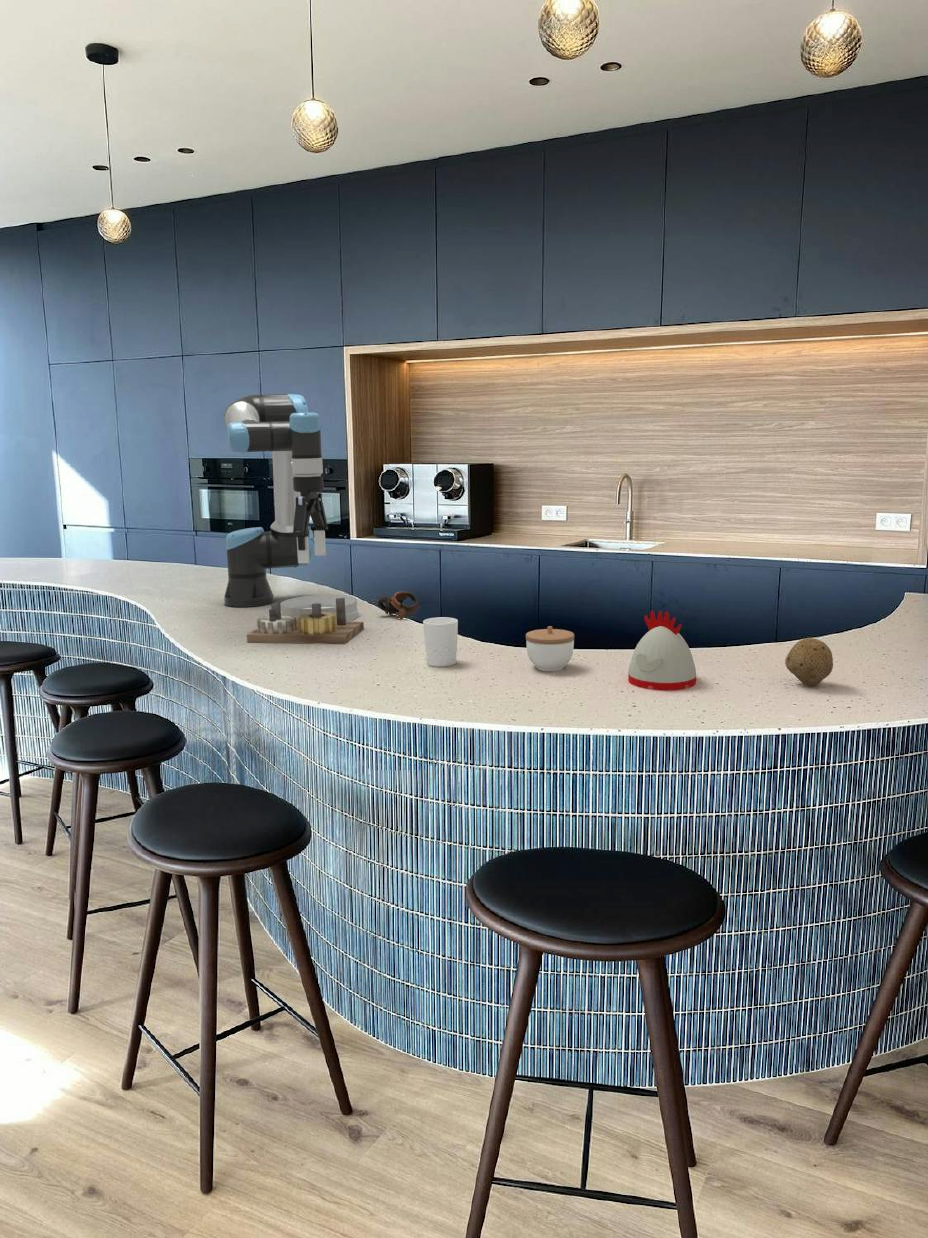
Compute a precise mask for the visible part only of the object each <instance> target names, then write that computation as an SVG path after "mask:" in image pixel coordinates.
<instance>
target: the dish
mask: <svg viewBox="0 0 928 1238" xmlns="http://www.w3.org/2000/svg"><path fill="white" fill-rule="evenodd" d="M336 598H345V614H346V621H351V620H352V621H354V620H356V619H357V618H358V617H359V609H358V601H357V600H358V599H356V597H352V596H347V595H339V594H318V595H305V596H304V595H303V596H298V597H292V598H289V599H285V600H284V601H282V602H280V606H281V615H285V616H290V615H291V616H293V617H296V621H297V617H298V615H302V614H304V613H311V612H312V604H315V603H320V604H321V612H327V613H328V612H332V613H333V614H336ZM336 618H337V615H336ZM353 619H354V620H353Z"/></svg>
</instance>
